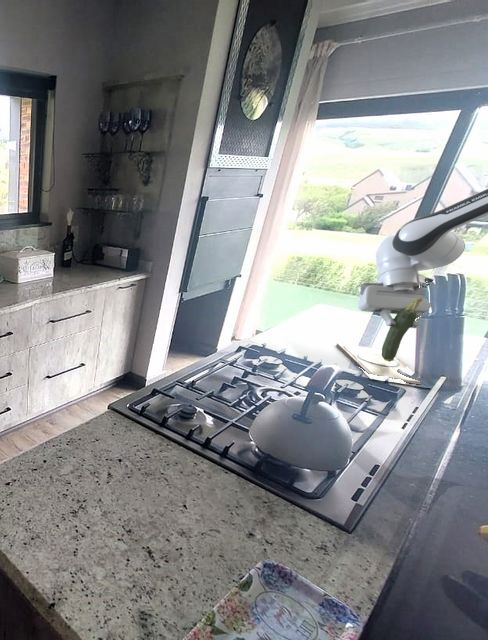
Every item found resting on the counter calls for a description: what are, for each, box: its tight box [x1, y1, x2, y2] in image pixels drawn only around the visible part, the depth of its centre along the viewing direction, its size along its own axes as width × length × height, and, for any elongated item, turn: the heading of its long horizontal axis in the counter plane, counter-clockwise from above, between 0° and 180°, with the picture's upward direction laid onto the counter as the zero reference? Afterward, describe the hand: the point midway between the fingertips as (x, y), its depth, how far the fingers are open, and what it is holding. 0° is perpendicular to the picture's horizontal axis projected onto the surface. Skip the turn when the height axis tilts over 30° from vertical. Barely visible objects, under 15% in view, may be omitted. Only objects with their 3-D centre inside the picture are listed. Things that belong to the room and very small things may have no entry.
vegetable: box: [381, 297, 422, 362], centre depth 119 cm, size 4×4×20 cm
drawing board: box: [335, 343, 422, 385], centre depth 125 cm, size 14×26×1 cm, turn 160°
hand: (402, 326), depth 118 cm, fingers closed on vegetable, 4 cm apart
